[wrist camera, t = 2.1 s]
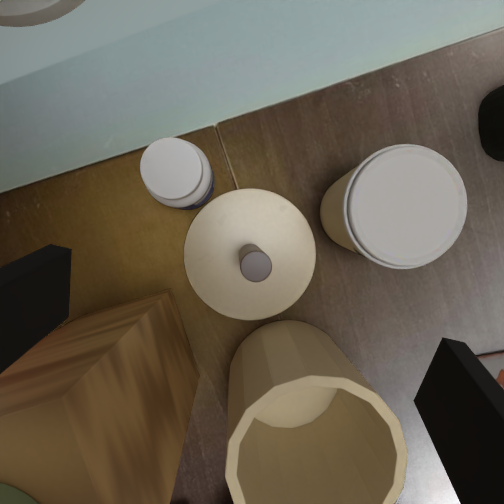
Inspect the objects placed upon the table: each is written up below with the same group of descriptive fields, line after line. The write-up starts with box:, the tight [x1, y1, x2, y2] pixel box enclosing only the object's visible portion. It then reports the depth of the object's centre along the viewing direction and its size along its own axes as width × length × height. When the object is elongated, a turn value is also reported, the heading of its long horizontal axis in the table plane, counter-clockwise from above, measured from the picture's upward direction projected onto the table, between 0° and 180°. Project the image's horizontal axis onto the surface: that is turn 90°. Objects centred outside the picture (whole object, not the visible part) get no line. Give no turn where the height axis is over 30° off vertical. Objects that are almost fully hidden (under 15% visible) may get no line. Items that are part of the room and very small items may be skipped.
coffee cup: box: [320, 144, 467, 269], centre depth 32 cm, size 9×9×12 cm
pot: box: [225, 320, 408, 504], centre depth 32 cm, size 13×13×14 cm
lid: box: [184, 188, 316, 320], centre depth 32 cm, size 14×14×11 cm
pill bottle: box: [140, 137, 215, 210], centre depth 32 cm, size 6×6×10 cm
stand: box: [0, 289, 199, 504], centre depth 26 cm, size 10×10×24 cm
